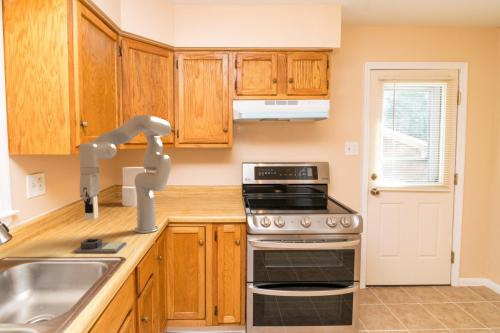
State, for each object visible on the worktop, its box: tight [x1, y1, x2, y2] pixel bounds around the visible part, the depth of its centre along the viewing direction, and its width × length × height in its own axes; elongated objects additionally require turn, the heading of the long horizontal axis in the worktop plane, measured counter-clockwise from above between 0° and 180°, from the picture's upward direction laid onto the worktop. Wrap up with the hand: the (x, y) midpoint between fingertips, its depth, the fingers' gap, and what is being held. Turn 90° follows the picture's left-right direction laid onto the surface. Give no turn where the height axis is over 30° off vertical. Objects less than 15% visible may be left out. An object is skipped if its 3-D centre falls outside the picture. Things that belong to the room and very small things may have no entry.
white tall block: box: [121, 166, 147, 207], centre depth 252 cm, size 17×17×28 cm
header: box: [74, 238, 127, 254], centre depth 149 cm, size 12×18×4 cm, turn 91°
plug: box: [84, 196, 99, 221], centre depth 148 cm, size 4×4×10 cm
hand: (91, 211), depth 148 cm, fingers closed on plug, 4 cm apart
